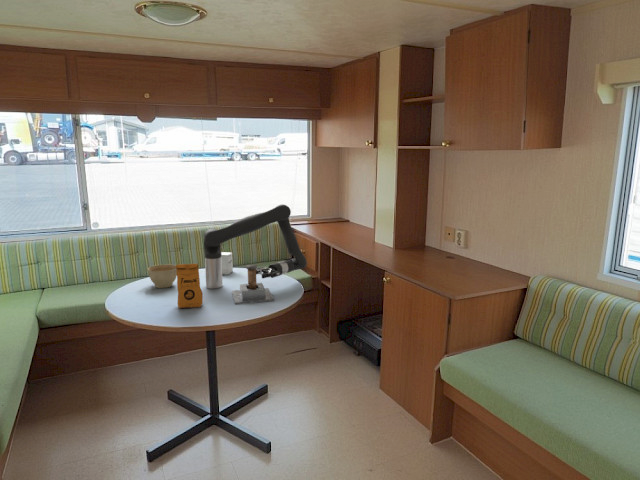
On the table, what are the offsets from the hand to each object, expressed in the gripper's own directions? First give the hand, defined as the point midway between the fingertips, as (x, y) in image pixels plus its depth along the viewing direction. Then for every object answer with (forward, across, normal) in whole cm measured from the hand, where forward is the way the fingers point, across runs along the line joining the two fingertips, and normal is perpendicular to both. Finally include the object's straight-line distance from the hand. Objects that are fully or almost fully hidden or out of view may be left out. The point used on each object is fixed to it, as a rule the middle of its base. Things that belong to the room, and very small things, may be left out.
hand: (256, 275), depth 244 cm
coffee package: (+34, -13, +11) cm, 38 cm away
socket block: (+3, 0, +11) cm, 12 cm away
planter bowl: (+24, -53, +11) cm, 59 cm away
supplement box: (-17, -49, +12) cm, 53 cm away
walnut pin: (+3, 0, +10) cm, 11 cm away
